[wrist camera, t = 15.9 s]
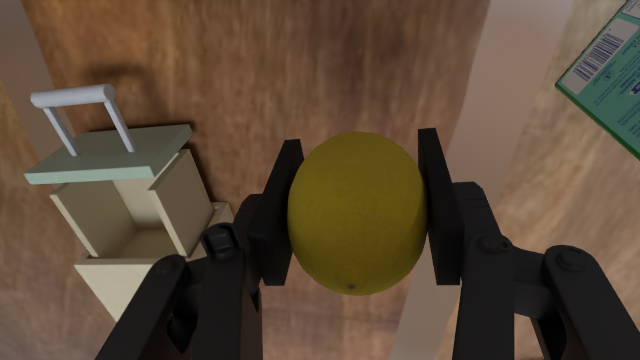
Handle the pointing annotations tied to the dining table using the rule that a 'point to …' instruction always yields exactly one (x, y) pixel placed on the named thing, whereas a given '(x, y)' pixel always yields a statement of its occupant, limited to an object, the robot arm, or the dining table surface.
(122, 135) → the drawer
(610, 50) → the milk carton
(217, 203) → the cabinet
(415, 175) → the lemon
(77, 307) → the dining table surface
